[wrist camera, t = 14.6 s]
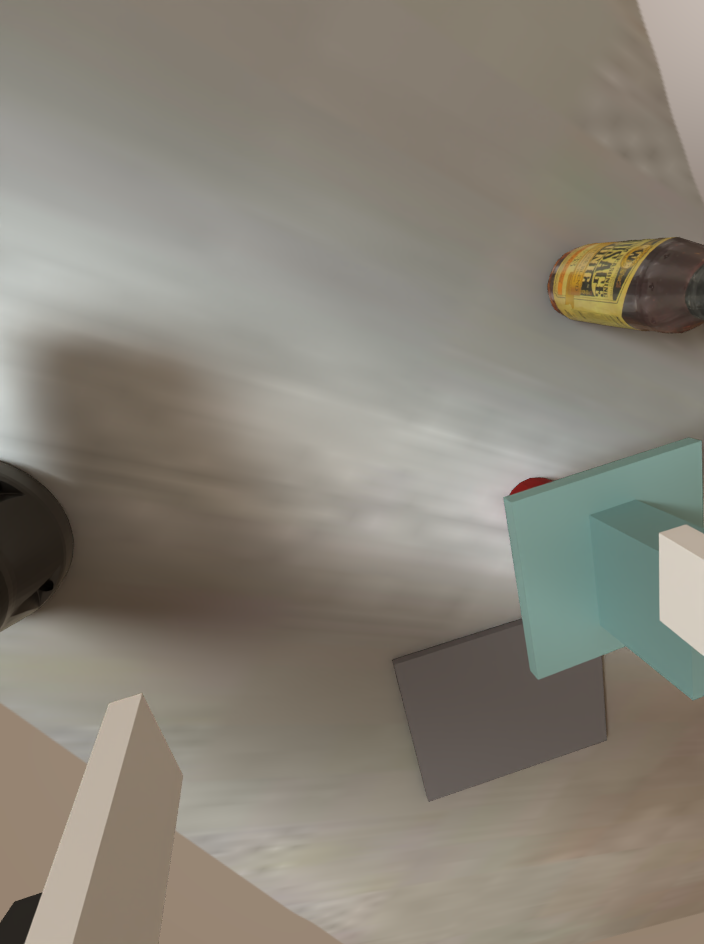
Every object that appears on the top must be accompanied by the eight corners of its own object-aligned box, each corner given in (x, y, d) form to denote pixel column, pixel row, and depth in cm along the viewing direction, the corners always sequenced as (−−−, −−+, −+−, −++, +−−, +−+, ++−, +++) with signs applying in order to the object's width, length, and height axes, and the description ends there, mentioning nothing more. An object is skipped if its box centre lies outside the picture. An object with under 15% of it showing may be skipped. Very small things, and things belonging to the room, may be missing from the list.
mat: (426, 795, 64) (428, 801, 64) (392, 659, 56) (394, 664, 56) (602, 735, 66) (606, 740, 66) (593, 595, 58) (598, 599, 58)
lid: (530, 670, 43) (615, 768, 33) (503, 497, 38) (594, 554, 28) (693, 608, 45) (817, 684, 36) (688, 437, 40) (830, 471, 31)
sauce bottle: (579, 229, 45) (808, 187, 26) (619, 280, 47) (857, 275, 28) (526, 289, 45) (712, 289, 27) (568, 337, 48) (766, 367, 29)
